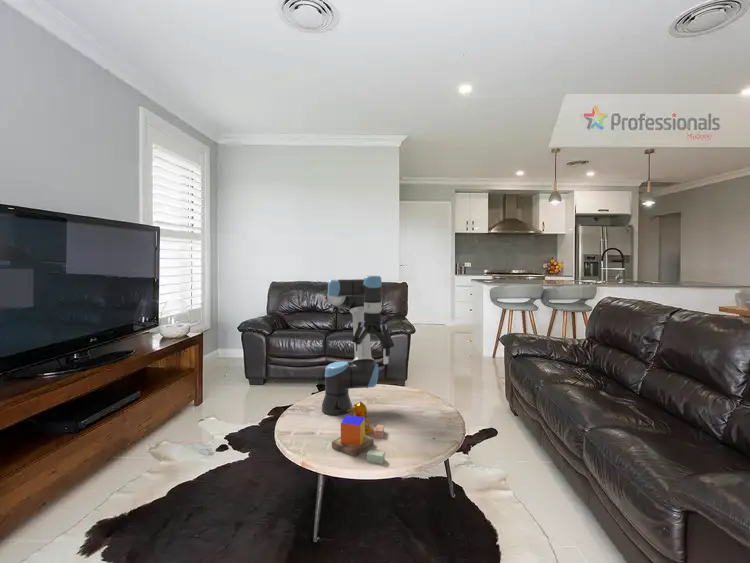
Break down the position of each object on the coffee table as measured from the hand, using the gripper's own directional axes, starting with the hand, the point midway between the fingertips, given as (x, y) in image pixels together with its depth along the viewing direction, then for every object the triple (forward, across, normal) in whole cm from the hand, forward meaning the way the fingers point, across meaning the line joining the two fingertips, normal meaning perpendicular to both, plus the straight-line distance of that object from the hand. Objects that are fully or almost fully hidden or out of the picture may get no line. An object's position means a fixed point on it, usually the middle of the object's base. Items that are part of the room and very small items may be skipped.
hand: (372, 361), depth 167 cm
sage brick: (+32, +14, -18) cm, 39 cm away
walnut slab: (+32, 0, -14) cm, 35 cm away
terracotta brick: (+32, +3, +1) cm, 32 cm away
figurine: (+32, -6, 0) cm, 32 cm away
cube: (+29, 0, -14) cm, 32 cm away
